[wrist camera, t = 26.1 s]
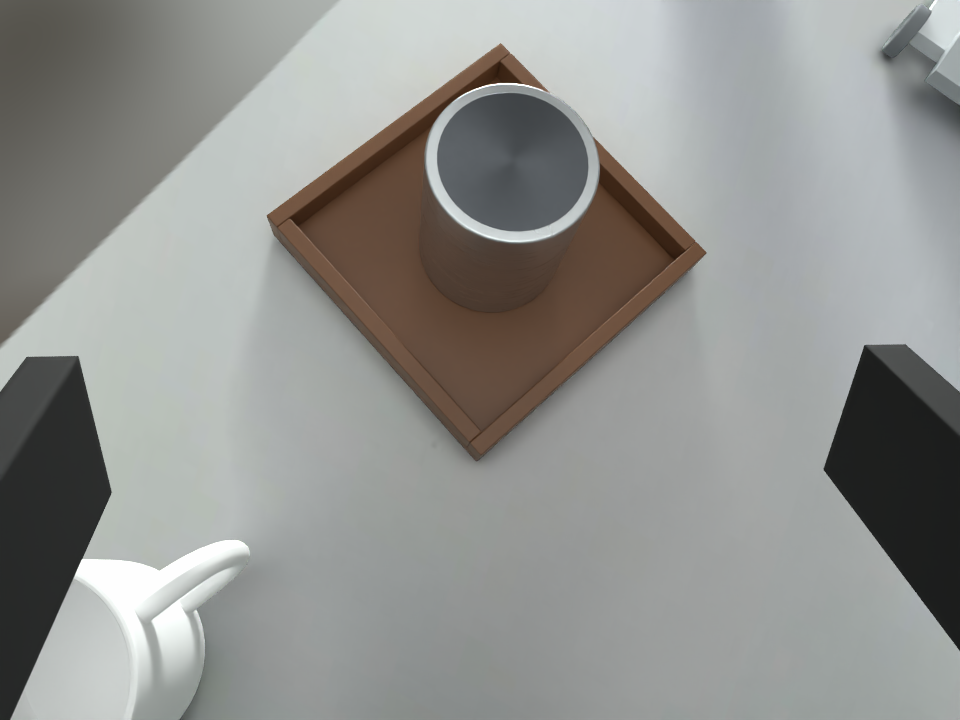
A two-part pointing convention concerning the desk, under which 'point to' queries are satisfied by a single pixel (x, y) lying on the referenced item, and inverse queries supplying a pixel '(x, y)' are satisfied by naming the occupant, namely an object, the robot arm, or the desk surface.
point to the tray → (456, 329)
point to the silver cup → (503, 194)
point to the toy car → (933, 43)
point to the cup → (129, 639)
